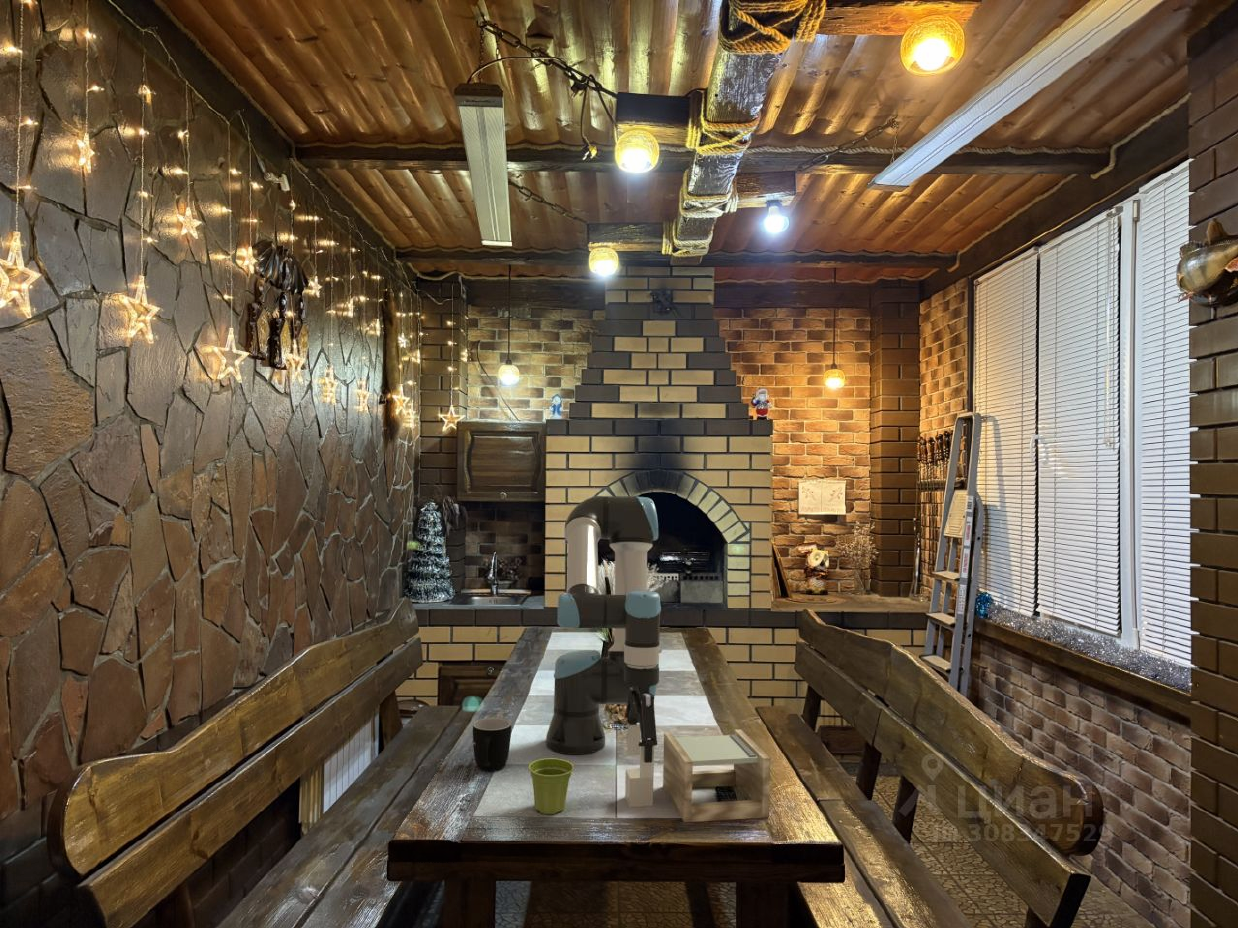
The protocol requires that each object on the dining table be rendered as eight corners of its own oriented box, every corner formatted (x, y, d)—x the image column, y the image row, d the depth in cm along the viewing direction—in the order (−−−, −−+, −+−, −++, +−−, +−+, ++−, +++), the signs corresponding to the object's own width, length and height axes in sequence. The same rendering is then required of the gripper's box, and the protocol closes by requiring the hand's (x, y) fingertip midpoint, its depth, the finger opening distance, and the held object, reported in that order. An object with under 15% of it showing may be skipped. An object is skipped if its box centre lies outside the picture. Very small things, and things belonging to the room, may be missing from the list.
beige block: (629, 807, 162) (630, 778, 162) (625, 797, 166) (625, 769, 167) (652, 805, 162) (653, 777, 163) (647, 796, 167) (648, 768, 167)
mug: (476, 758, 187) (477, 716, 187) (513, 760, 186) (514, 718, 186) (464, 778, 175) (465, 733, 175) (503, 779, 174) (504, 734, 174)
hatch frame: (684, 822, 155) (685, 762, 155) (662, 786, 173) (664, 732, 173) (769, 816, 158) (770, 757, 158) (739, 782, 176) (740, 729, 176)
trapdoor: (692, 765, 157) (692, 759, 157) (674, 742, 171) (674, 736, 171) (757, 762, 160) (757, 755, 160) (735, 739, 174) (735, 733, 174)
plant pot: (573, 798, 165) (574, 758, 165) (572, 818, 156) (573, 775, 156) (529, 798, 165) (530, 757, 165) (525, 818, 155) (526, 774, 155)
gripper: (673, 678, 153) (671, 786, 153) (646, 652, 178) (644, 745, 177) (636, 679, 152) (634, 788, 151) (614, 652, 176) (612, 746, 176)
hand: (639, 765), depth 164 cm, fingers open, 13 cm apart
